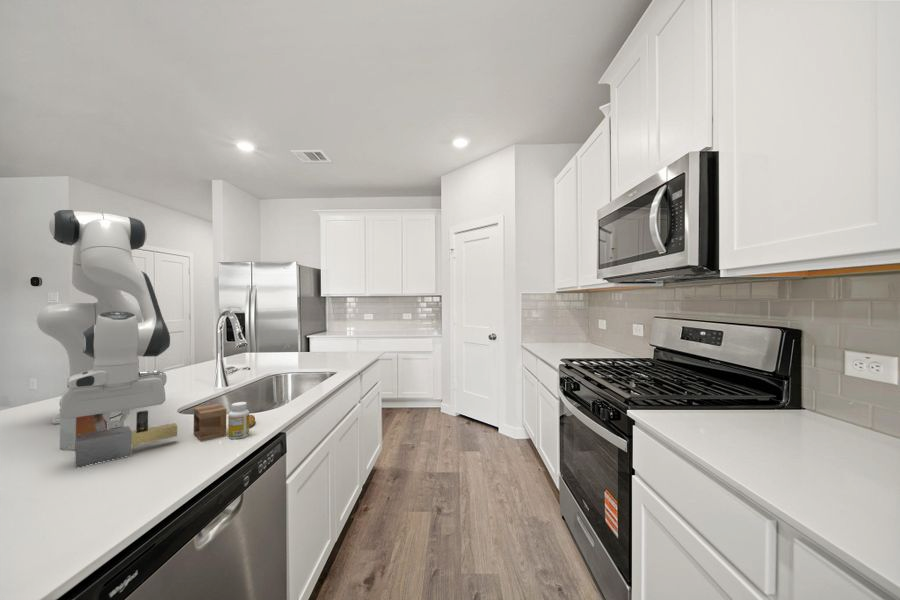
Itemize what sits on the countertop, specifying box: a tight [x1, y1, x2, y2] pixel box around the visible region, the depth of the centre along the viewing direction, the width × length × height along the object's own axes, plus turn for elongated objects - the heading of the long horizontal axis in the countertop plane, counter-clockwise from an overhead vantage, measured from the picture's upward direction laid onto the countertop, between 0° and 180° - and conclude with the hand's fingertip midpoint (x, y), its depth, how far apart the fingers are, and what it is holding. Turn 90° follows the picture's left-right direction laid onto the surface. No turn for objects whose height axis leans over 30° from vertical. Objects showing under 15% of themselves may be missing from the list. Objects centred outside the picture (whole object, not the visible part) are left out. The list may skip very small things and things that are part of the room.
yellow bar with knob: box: [131, 410, 178, 447], centre depth 98 cm, size 3×20×8 cm, turn 136°
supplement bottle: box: [227, 401, 250, 440], centre depth 110 cm, size 5×5×10 cm
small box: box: [58, 414, 108, 451], centre depth 103 cm, size 8×6×10 cm
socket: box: [193, 403, 227, 442], centre depth 111 cm, size 8×6×8 cm
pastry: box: [249, 414, 256, 429], centre depth 121 cm, size 9×7×4 cm
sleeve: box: [74, 425, 133, 469], centre depth 94 cm, size 6×10×6 cm, turn 137°
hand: (115, 428), depth 96 cm, fingers closed
